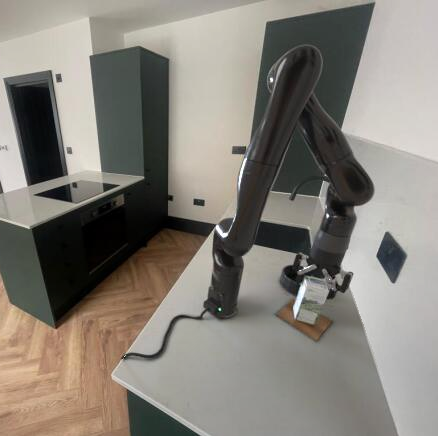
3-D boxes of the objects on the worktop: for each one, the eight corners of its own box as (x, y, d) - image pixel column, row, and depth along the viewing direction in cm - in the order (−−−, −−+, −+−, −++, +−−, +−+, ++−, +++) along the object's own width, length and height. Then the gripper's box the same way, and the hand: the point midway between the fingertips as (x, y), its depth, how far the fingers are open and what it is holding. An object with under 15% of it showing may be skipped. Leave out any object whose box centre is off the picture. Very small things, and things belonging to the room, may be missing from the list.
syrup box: (312, 313, 77) (325, 278, 71) (315, 326, 72) (329, 290, 66) (292, 307, 79) (303, 273, 73) (294, 320, 74) (306, 285, 68)
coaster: (316, 341, 68) (316, 340, 68) (276, 315, 77) (276, 314, 77) (332, 321, 75) (332, 320, 74) (293, 299, 84) (293, 299, 83)
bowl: (310, 305, 81) (314, 293, 79) (272, 284, 91) (275, 273, 89) (326, 289, 88) (330, 277, 86) (289, 271, 98) (292, 260, 96)
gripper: (296, 239, 68) (283, 283, 75) (357, 261, 57) (336, 310, 64) (307, 231, 72) (294, 274, 78) (366, 251, 61) (346, 298, 68)
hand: (313, 290), depth 71 cm, fingers closed on syrup box, 7 cm apart
